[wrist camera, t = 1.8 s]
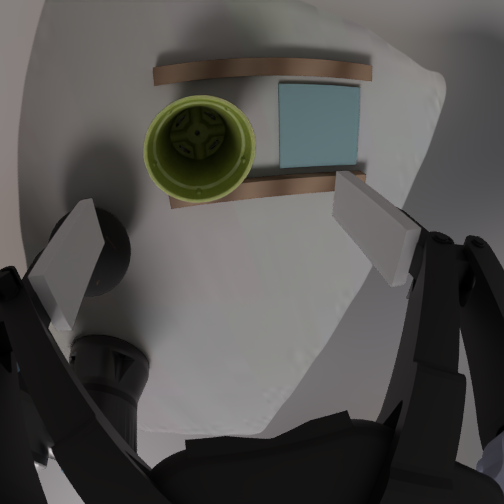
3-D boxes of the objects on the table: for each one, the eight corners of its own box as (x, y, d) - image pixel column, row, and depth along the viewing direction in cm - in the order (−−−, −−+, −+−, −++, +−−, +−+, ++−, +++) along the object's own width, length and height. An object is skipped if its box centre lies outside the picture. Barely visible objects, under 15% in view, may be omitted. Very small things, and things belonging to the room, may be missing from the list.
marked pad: (279, 167, 34) (280, 168, 34) (278, 83, 29) (279, 83, 28) (354, 163, 36) (356, 164, 35) (358, 87, 30) (360, 87, 30)
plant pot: (257, 122, 31) (278, 137, 24) (208, 187, 34) (213, 221, 27) (188, 75, 27) (186, 73, 20) (139, 146, 30) (123, 169, 23)
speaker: (61, 251, 34) (35, 300, 26) (70, 184, 30) (35, 222, 22) (127, 271, 38) (115, 324, 30) (145, 206, 34) (131, 251, 26)
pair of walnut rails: (171, 203, 34) (171, 208, 33) (154, 68, 25) (152, 67, 24) (359, 184, 37) (364, 189, 36) (365, 65, 28) (372, 65, 27)
